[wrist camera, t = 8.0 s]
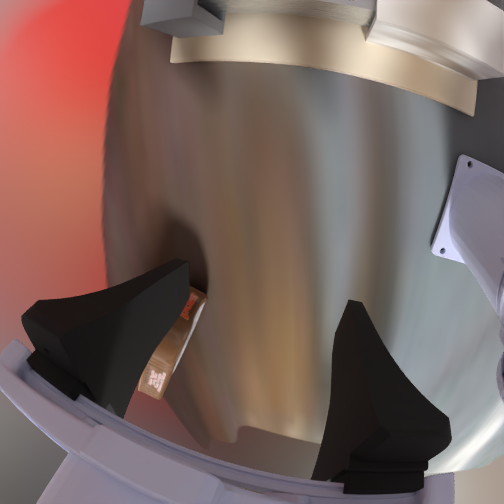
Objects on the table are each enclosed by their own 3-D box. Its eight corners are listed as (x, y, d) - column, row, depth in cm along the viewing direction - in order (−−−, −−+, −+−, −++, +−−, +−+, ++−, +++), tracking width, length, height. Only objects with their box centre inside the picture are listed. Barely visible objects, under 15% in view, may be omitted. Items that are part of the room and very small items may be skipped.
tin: (193, 264, 25) (143, 324, 18) (223, 281, 25) (182, 347, 18) (163, 348, 33) (130, 397, 26) (184, 361, 33) (155, 412, 26)
